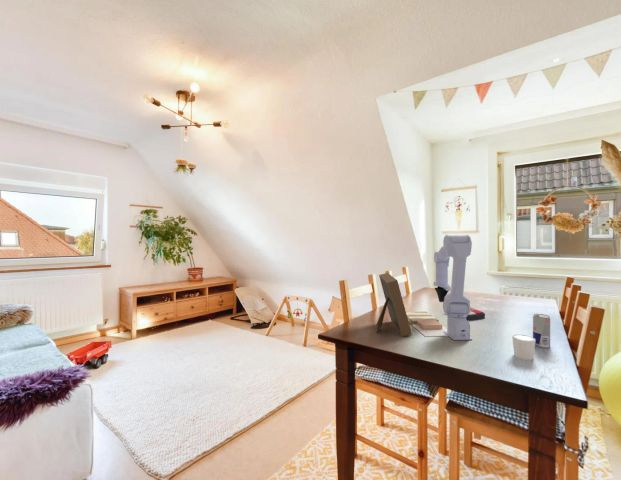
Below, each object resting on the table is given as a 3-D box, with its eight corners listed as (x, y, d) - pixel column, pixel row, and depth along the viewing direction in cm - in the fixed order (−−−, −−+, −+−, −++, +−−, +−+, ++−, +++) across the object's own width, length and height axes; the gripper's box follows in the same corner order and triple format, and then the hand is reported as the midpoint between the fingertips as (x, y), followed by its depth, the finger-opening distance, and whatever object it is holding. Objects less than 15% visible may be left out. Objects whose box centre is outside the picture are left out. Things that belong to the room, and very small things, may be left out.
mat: (457, 336, 126) (457, 335, 126) (425, 336, 126) (425, 336, 126) (440, 324, 142) (440, 323, 142) (411, 324, 142) (411, 324, 142)
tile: (442, 329, 134) (442, 325, 134) (423, 329, 134) (422, 325, 134) (434, 323, 142) (434, 319, 142) (416, 324, 142) (416, 320, 142)
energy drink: (533, 342, 118) (533, 312, 118) (550, 345, 115) (550, 315, 114) (532, 346, 114) (532, 316, 114) (550, 349, 111) (550, 318, 110)
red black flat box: (469, 314, 147) (446, 305, 161) (468, 322, 147) (446, 313, 161) (485, 311, 150) (462, 303, 165) (485, 320, 151) (461, 311, 165)
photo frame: (399, 321, 148) (398, 272, 147) (411, 336, 126) (410, 279, 126) (370, 321, 149) (369, 273, 148) (377, 337, 127) (376, 280, 127)
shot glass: (525, 352, 109) (525, 333, 109) (540, 360, 102) (540, 340, 102) (507, 352, 108) (507, 334, 108) (521, 361, 102) (521, 341, 101)
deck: (438, 323, 143) (438, 319, 143) (412, 324, 143) (412, 320, 143) (425, 315, 158) (425, 311, 158) (402, 315, 158) (402, 312, 158)
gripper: (427, 273, 156) (428, 298, 156) (440, 277, 141) (440, 305, 141) (440, 273, 156) (441, 298, 156) (454, 277, 141) (455, 305, 142)
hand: (441, 301), depth 149 cm, fingers closed
